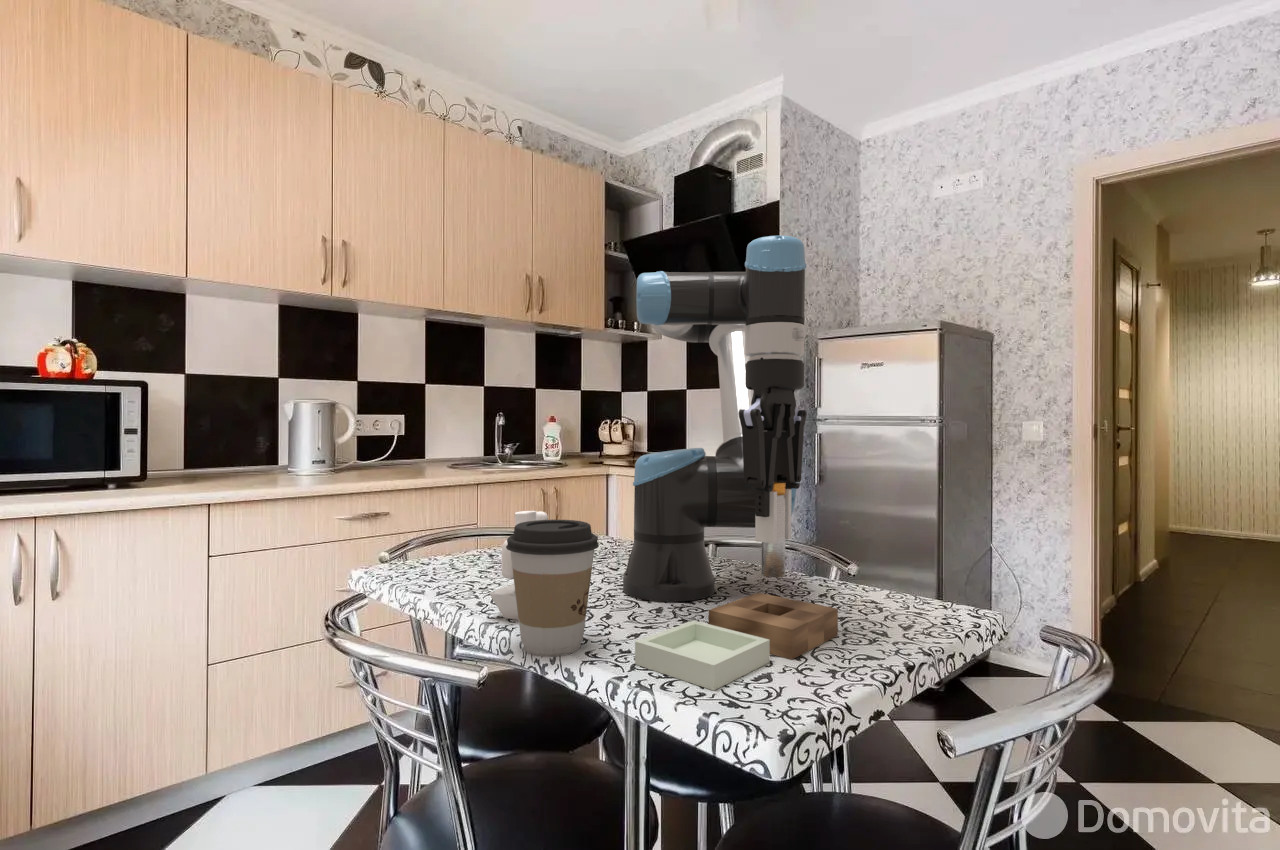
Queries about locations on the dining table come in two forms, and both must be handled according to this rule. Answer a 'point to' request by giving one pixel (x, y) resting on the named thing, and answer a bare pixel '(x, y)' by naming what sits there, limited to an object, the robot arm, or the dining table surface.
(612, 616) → the dining table surface
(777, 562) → the clear capped vial
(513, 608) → the figurine
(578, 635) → the coffee cup
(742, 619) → the block
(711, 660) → the tray
